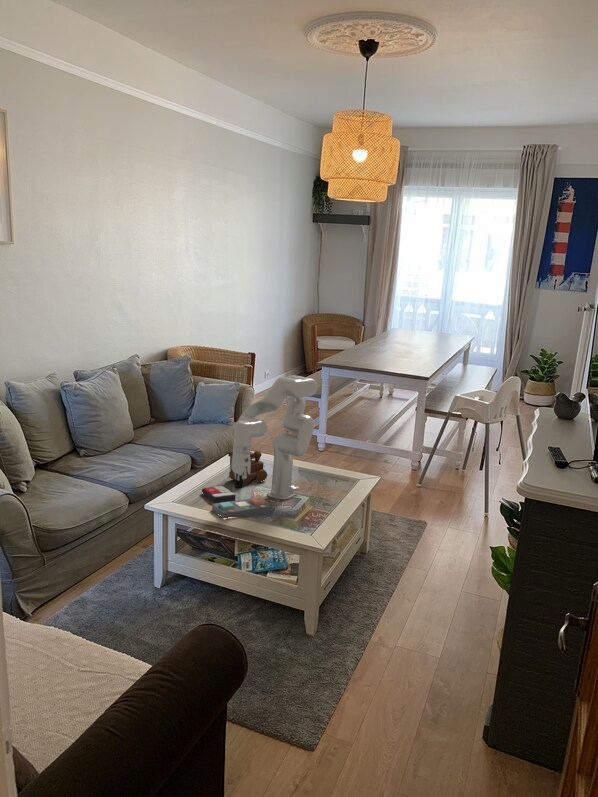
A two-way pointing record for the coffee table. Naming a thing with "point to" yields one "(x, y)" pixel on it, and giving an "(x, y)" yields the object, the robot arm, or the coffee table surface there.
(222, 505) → the teal key
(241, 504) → the cream key
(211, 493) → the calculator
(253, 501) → the terracotta key
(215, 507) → the dark grey flat block
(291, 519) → the coffee table surface
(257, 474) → the wooden toy train
